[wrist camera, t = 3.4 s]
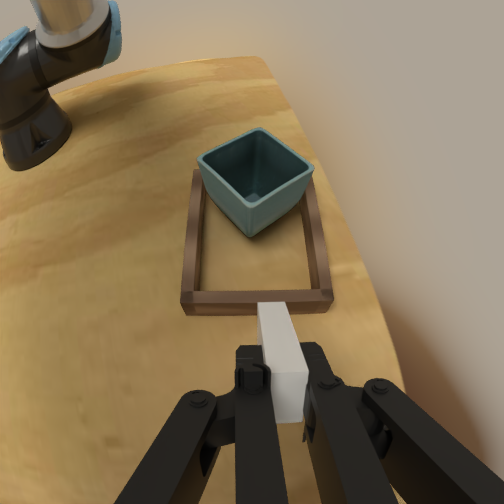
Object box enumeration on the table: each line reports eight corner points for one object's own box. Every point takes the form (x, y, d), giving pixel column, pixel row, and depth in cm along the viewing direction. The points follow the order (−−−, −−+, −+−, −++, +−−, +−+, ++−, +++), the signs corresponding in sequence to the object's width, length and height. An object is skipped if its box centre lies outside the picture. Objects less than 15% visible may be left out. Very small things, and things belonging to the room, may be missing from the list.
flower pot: (303, 219, 38) (317, 166, 30) (248, 259, 35) (250, 208, 27) (256, 178, 41) (259, 125, 33) (202, 211, 38) (194, 157, 30)
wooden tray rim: (196, 188, 40) (193, 169, 37) (306, 188, 40) (310, 169, 37) (186, 315, 31) (180, 302, 28) (325, 312, 32) (334, 300, 29)
